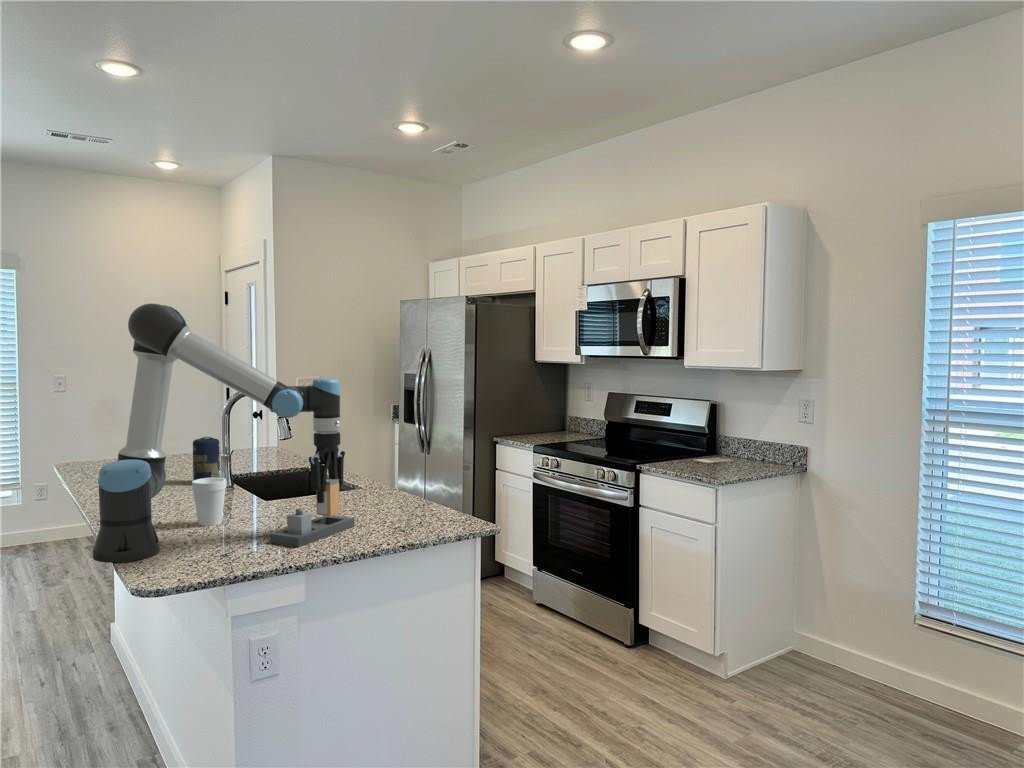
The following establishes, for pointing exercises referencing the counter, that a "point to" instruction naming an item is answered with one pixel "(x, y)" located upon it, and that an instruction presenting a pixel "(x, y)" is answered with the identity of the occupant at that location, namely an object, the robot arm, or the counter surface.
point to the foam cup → (209, 500)
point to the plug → (331, 497)
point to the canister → (206, 458)
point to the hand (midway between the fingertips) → (328, 511)
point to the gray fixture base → (309, 528)
